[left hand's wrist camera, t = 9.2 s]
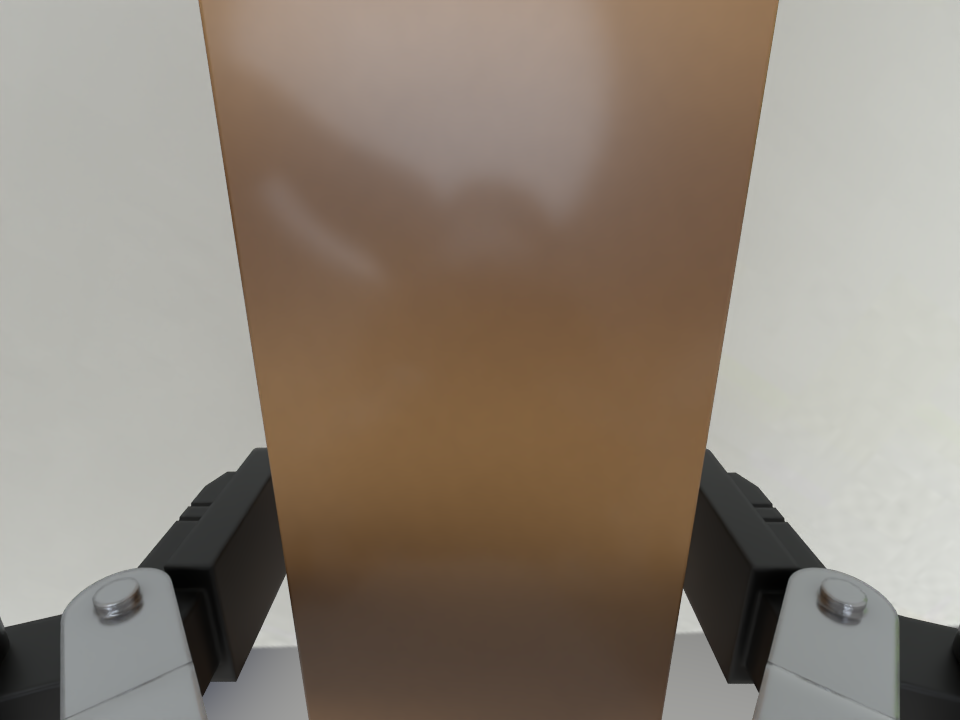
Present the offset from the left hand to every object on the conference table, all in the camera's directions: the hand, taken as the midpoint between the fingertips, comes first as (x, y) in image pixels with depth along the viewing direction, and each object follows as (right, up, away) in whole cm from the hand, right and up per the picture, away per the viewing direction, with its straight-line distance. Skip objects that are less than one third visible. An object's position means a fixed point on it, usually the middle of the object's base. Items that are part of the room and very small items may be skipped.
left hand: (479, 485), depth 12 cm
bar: (0, +11, +1) cm, 11 cm away
